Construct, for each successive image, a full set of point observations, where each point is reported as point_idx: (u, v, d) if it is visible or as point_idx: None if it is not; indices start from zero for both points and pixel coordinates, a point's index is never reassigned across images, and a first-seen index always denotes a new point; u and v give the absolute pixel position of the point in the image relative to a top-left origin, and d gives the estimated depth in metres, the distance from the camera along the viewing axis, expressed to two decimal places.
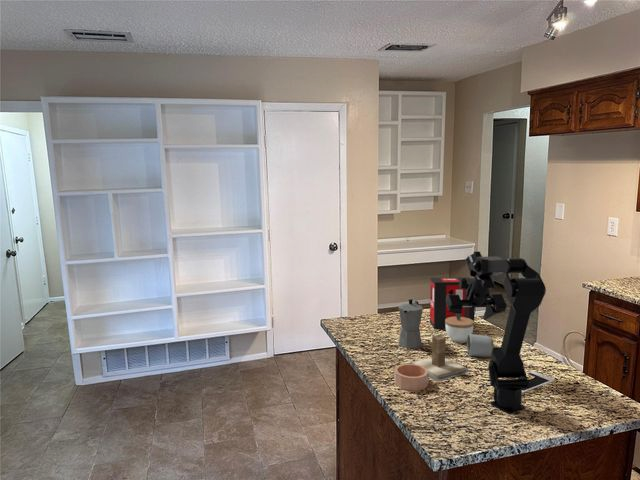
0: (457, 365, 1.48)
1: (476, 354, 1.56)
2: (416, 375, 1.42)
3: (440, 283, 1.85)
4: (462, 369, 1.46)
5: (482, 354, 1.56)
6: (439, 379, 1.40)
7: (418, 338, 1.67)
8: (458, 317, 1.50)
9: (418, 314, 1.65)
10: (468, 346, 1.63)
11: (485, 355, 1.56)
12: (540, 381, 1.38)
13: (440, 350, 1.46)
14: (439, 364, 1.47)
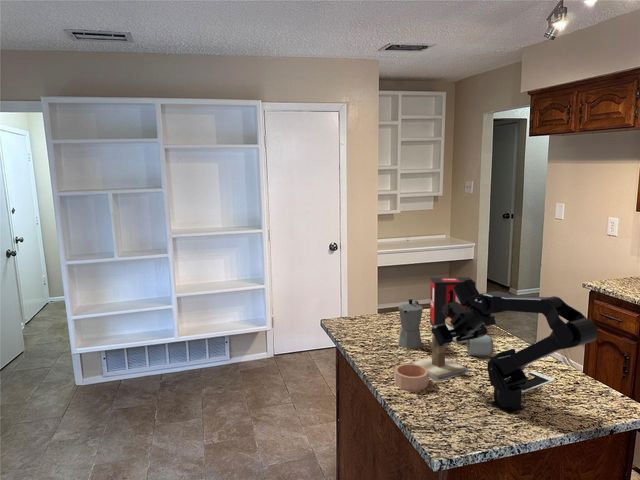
0: (457, 365, 1.48)
1: (476, 353, 1.57)
2: (416, 375, 1.42)
3: (440, 283, 1.85)
4: (462, 369, 1.46)
5: (482, 353, 1.57)
6: (439, 379, 1.40)
7: (418, 338, 1.67)
8: None
9: (418, 314, 1.65)
10: (468, 345, 1.63)
11: (485, 354, 1.57)
12: (540, 381, 1.38)
13: (440, 350, 1.46)
14: (439, 364, 1.47)
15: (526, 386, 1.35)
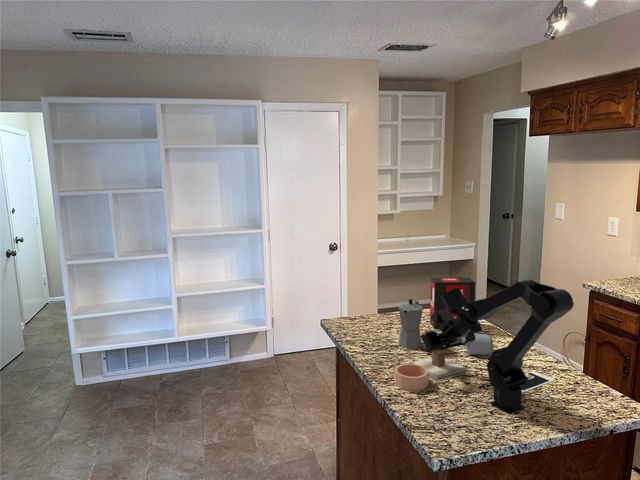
0: (457, 365, 1.48)
1: (476, 352, 1.57)
2: (416, 375, 1.42)
3: (440, 283, 1.85)
4: (462, 369, 1.46)
5: (481, 353, 1.57)
6: (439, 379, 1.40)
7: (418, 338, 1.67)
8: None
9: (418, 314, 1.65)
10: (467, 345, 1.64)
11: (484, 354, 1.57)
12: (540, 381, 1.38)
13: (440, 350, 1.46)
14: (439, 364, 1.47)
15: (526, 386, 1.35)
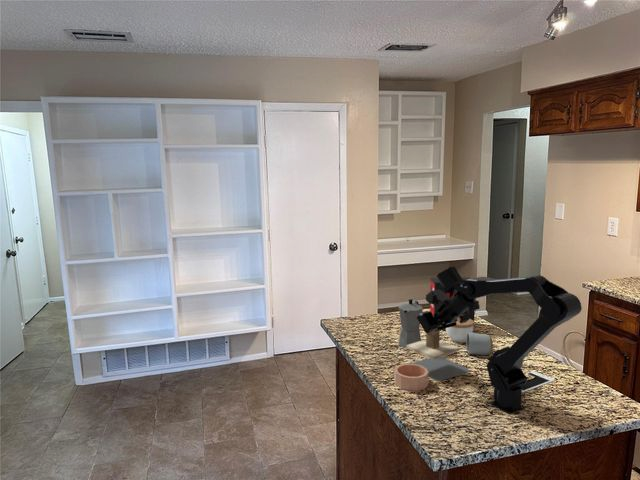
0: (451, 346, 1.46)
1: (475, 352, 1.58)
2: (416, 375, 1.42)
3: None
4: (457, 350, 1.44)
5: (481, 352, 1.58)
6: (439, 379, 1.40)
7: (418, 338, 1.67)
8: None
9: None
10: (467, 344, 1.64)
11: (484, 353, 1.58)
12: (540, 381, 1.38)
13: (434, 332, 1.44)
14: (434, 346, 1.45)
15: (526, 386, 1.35)
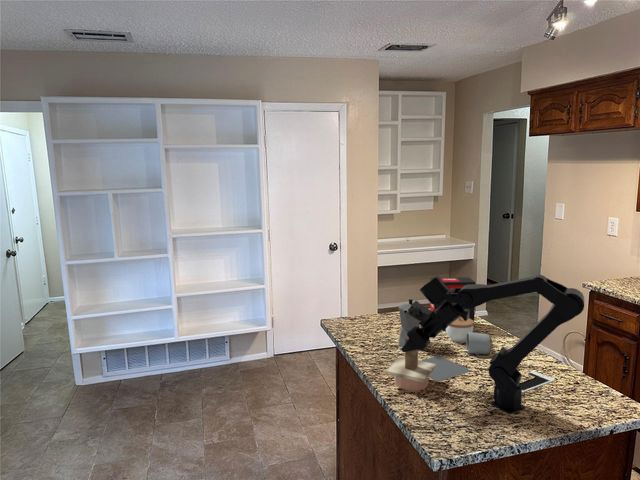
0: (427, 363, 1.40)
1: (475, 351, 1.59)
2: None
3: None
4: (435, 367, 1.39)
5: (481, 351, 1.58)
6: (439, 379, 1.40)
7: None
8: None
9: None
10: (467, 344, 1.65)
11: (484, 353, 1.58)
12: (540, 381, 1.38)
13: (415, 352, 1.35)
14: (415, 366, 1.36)
15: (526, 386, 1.35)
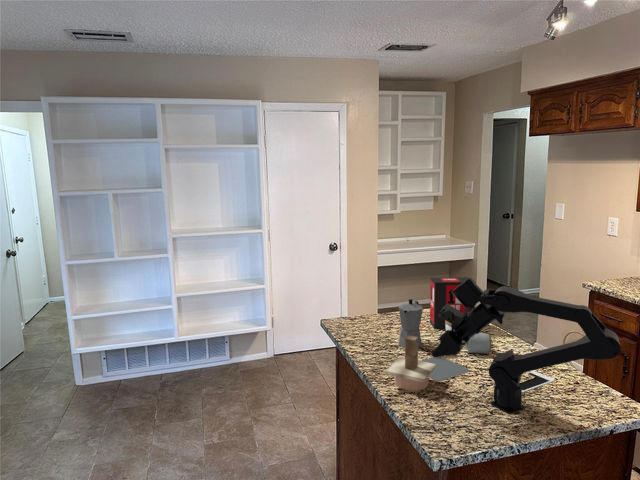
0: (427, 363, 1.40)
1: (475, 351, 1.59)
2: None
3: (440, 283, 1.85)
4: (435, 367, 1.39)
5: (480, 351, 1.59)
6: (439, 379, 1.40)
7: (418, 338, 1.67)
8: None
9: (418, 314, 1.65)
10: (467, 343, 1.66)
11: (483, 352, 1.59)
12: (540, 381, 1.38)
13: (415, 352, 1.35)
14: (415, 366, 1.36)
15: (526, 386, 1.35)
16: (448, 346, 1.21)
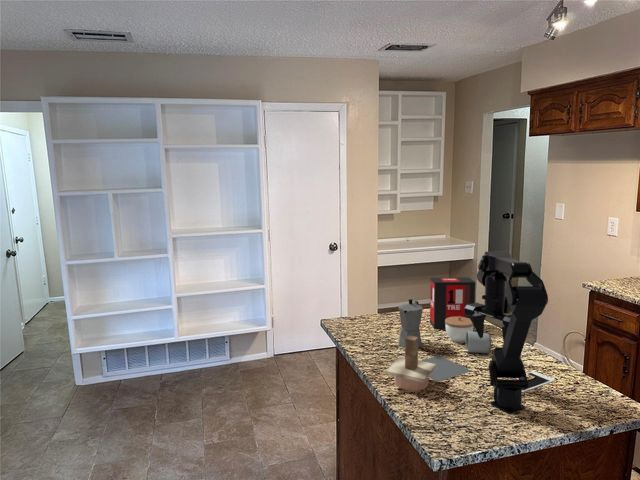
0: (427, 363, 1.40)
1: (474, 350, 1.60)
2: None
3: (440, 283, 1.85)
4: (435, 367, 1.39)
5: (480, 350, 1.59)
6: (439, 379, 1.40)
7: (418, 338, 1.67)
8: (476, 328, 1.40)
9: (418, 314, 1.65)
10: (467, 343, 1.66)
11: (483, 351, 1.59)
12: (540, 381, 1.38)
13: (415, 352, 1.35)
14: (415, 366, 1.36)
15: None
16: None
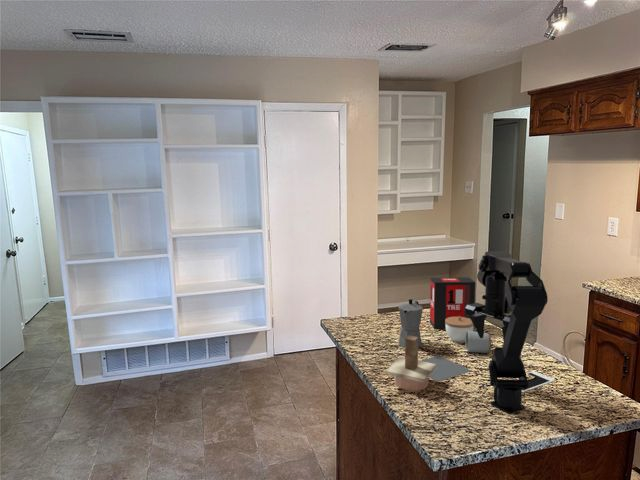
0: (427, 363, 1.40)
1: (474, 350, 1.60)
2: None
3: (440, 283, 1.85)
4: (435, 367, 1.39)
5: (480, 350, 1.60)
6: (439, 379, 1.40)
7: (418, 338, 1.67)
8: (476, 328, 1.40)
9: (418, 314, 1.65)
10: (466, 342, 1.66)
11: (483, 351, 1.60)
12: (540, 381, 1.38)
13: (415, 352, 1.35)
14: (415, 366, 1.36)
15: None
16: None
